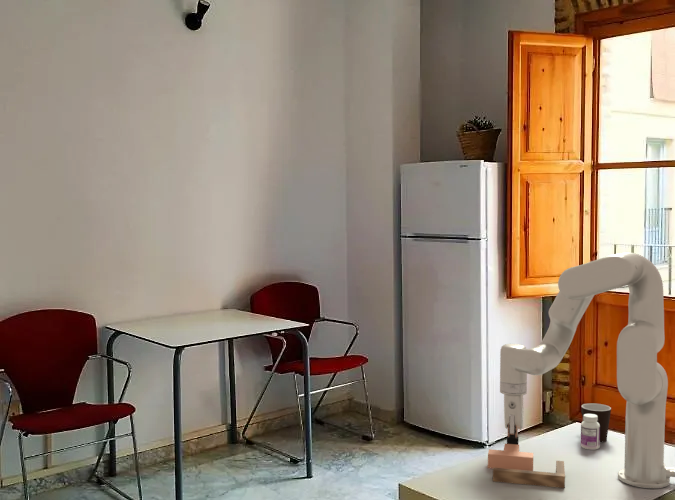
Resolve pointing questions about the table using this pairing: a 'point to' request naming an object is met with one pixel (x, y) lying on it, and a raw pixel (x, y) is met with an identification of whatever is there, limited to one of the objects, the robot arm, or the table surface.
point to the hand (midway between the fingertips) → (512, 450)
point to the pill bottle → (590, 432)
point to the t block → (510, 458)
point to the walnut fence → (532, 476)
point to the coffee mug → (599, 417)
